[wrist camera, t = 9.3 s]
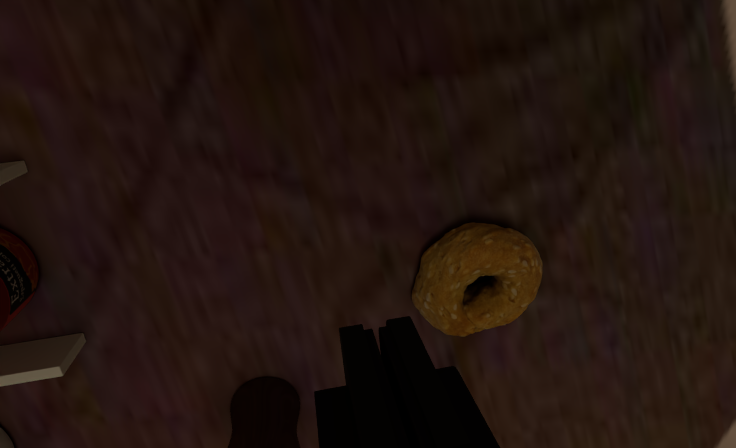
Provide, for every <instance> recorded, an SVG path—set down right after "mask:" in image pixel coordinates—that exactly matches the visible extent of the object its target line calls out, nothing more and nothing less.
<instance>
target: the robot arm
mask: <svg viewBox="0 0 736 448" xmlns="http://www.w3.org/2000/svg"><path fill="white" fill-rule="evenodd" d="M339 333H340V341H341V349H342V357H343V365H344V373H345V380H346V386H341V387H336V388H330V389H325V390H319V391H314V394H315V405H316V416H317V427H318V438H319V448H500V447H499V445H498V443H497V441H496V439H495V437H494V436H493V434H492V432H491V430H490V428H489V427H488V425H487V423H486V421H485V419H484V417H483V416H482V414H481V412H480V410H479V408H478V406H477V405H476V403H475V401H474V399H473V397H472V395H471V394H470V392H469V390H468V388H467V386H466V384H465V383H464V381H463V379H462V377H461V375H460V373H459V372H458V370H457V369H456V367H454V366H451V367H445V368H440V369H435V367H434V365H433V363H432V361H431V359H430V357H429V355H428V353H427V351H426V349H425V346H424V344H423V342H422V340H421V338H420V336H419V334H418V332H417V330H416V328H415V326H414V323H413V321H412V319H411V318H410V316H407V317H401V318H395V319H389V320H387V321H386V326H385V327H379V341H380V351H381V355H380V352H379V349H378V345H377V342H376V339H375V336H374V333H373V330H372V329H368V330H364V329H363V325H362V324H360V325H354V326H348V327H342V328H339Z"/></svg>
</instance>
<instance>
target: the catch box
mask: <svg viewBox="0 0 736 448" xmlns="http://www.w3.org/2000/svg"><path fill="white" fill-rule="evenodd" d="M27 172H28V170H27V167H26V164H25V161H16V162H8V163H0V185H2V184H4V183H6V182H8V181H10V180H12V179H14V178H16V177H18V176H21V175H23V174H25V173H27ZM85 342H86V340H85V337H84V334H83V333H78V334H72V335H65V336H59V337H53V338H47V339H40V340H34V341H28V342H22V343H15V344H9V345H3V346H0V386H6V385H12V384H18V383H24V382H30V381H36V380H42V379H47V378H53V377H59V376H63V375H64V374H65V372H66V371H67V369H68V368H69V366H70V365H71V363H72V362H73V360H74V359H75V357H76V356H77V354H78V353H79V351H80V350H81V348H82V347H83V345H84V344H85Z"/></svg>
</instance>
